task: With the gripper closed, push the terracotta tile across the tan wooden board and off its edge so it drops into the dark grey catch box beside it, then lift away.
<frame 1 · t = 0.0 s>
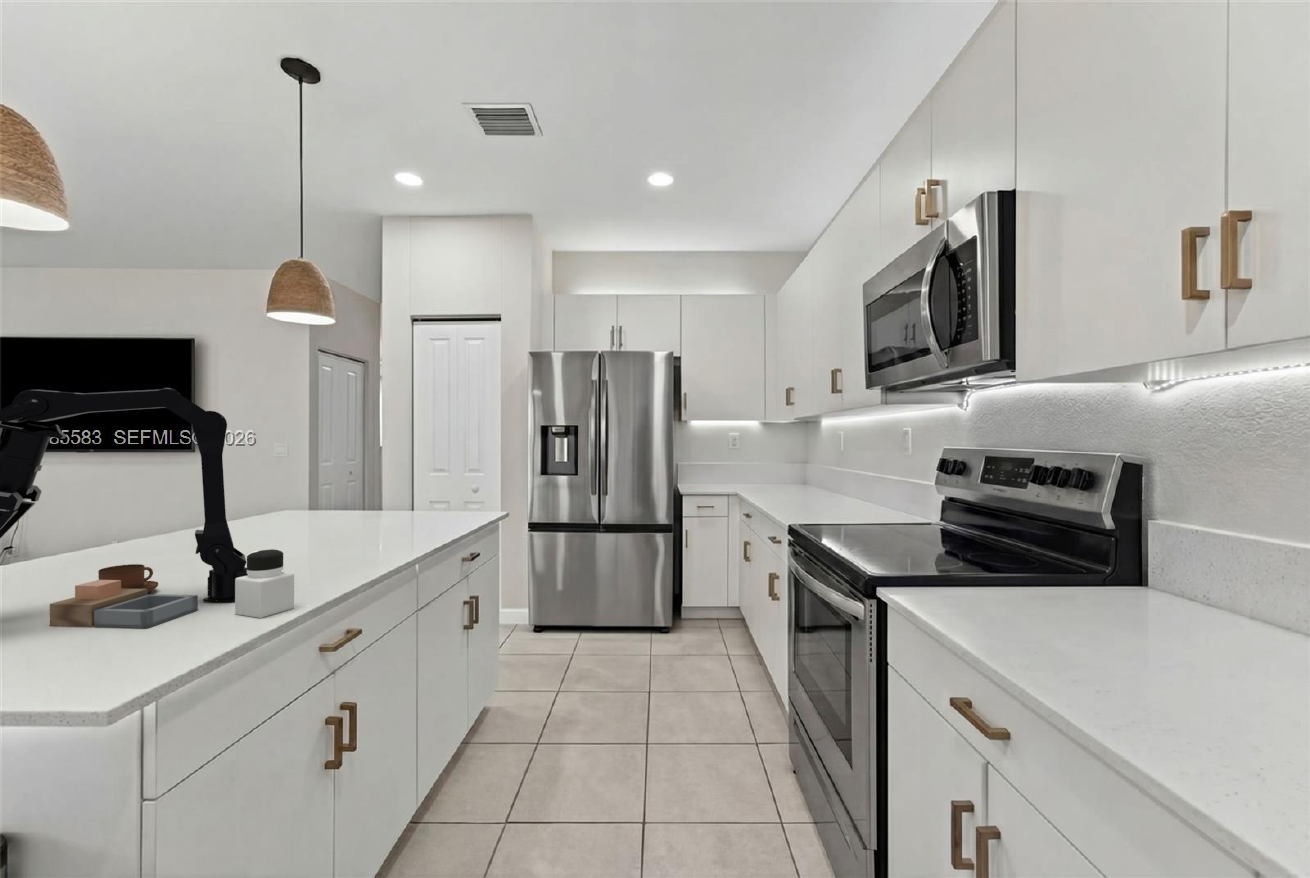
tile: (98, 596, 111), point 4 cm above the worktop, touching tan wooden board
medicine bottle: (265, 612, 116), on the worktop
cup and saucer: (121, 597, 126), on the worktop
tan wooden board: (100, 617, 111), on the worktop
catch box: (148, 618, 111), on the worktop
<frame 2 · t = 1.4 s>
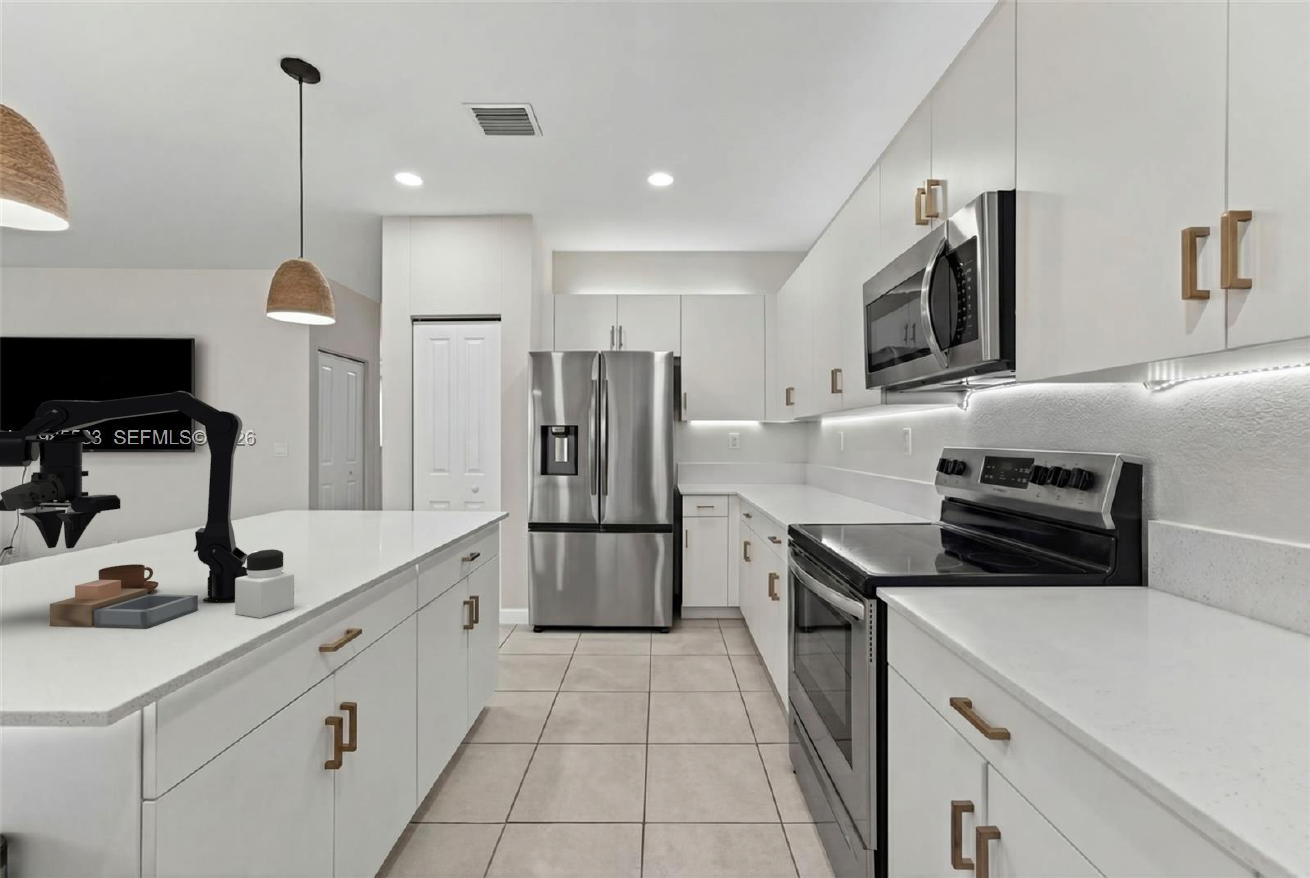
hand: (61, 548, 112), 13 cm above the worktop, tool pointing down, fingers open, 3 cm apart
nothing on the worktop moved.
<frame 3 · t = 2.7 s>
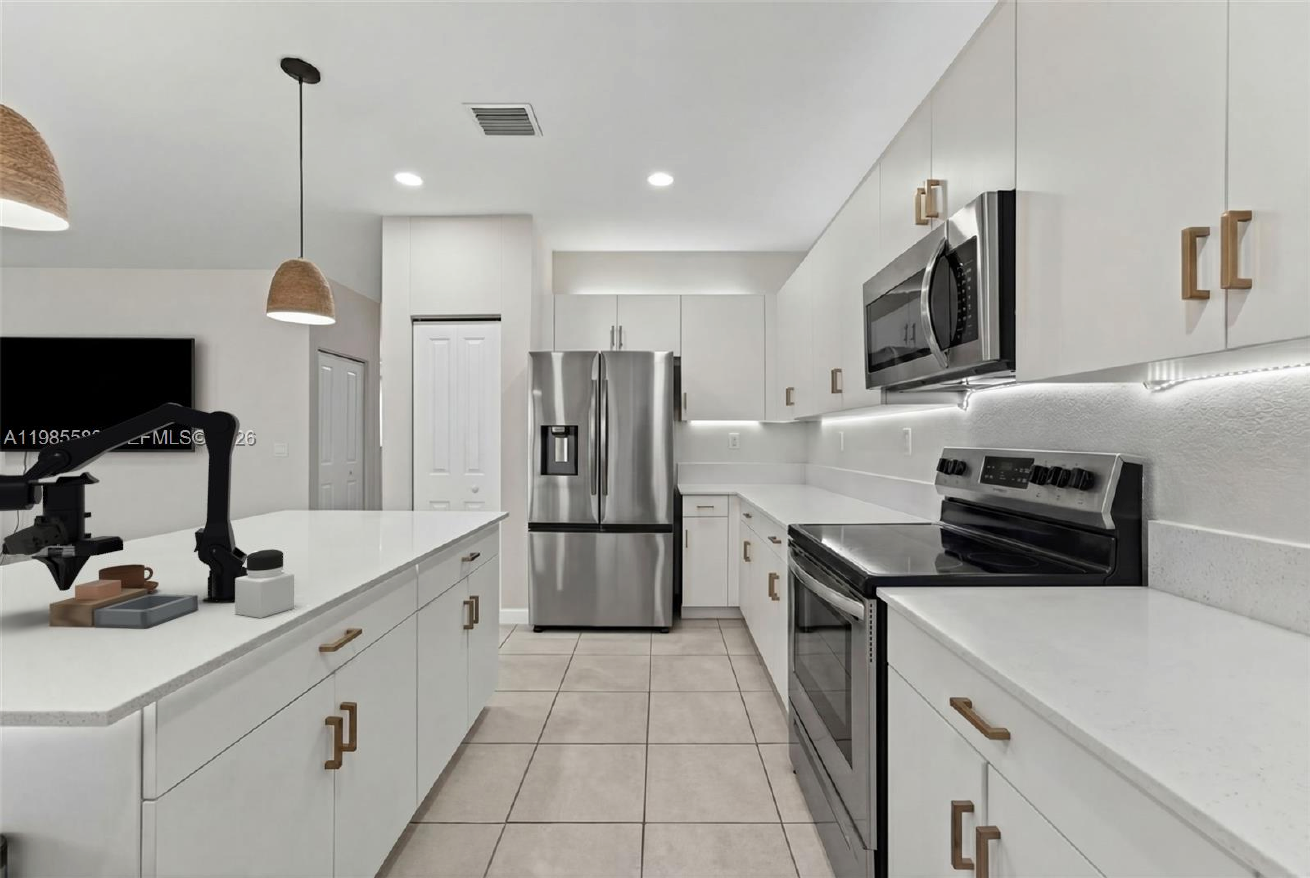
hand: (64, 590, 112), 5 cm above the worktop, tool pointing down, fingers closed
nothing on the worktop moved.
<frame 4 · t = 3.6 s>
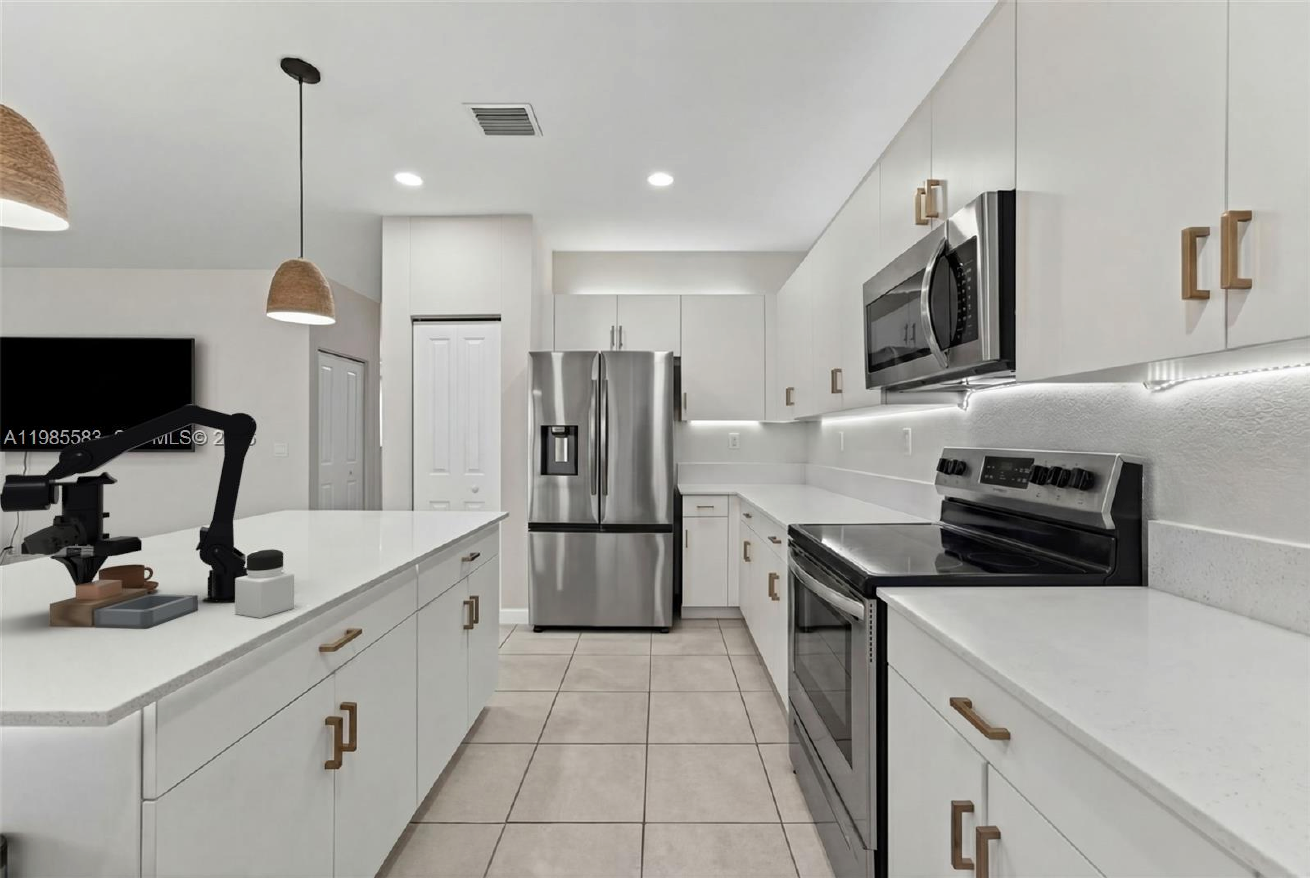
hand: (82, 590, 112), 5 cm above the worktop, tool pointing down, fingers closed
tile: (99, 596, 111), point 4 cm above the worktop, touching gripper
everything else where it was.
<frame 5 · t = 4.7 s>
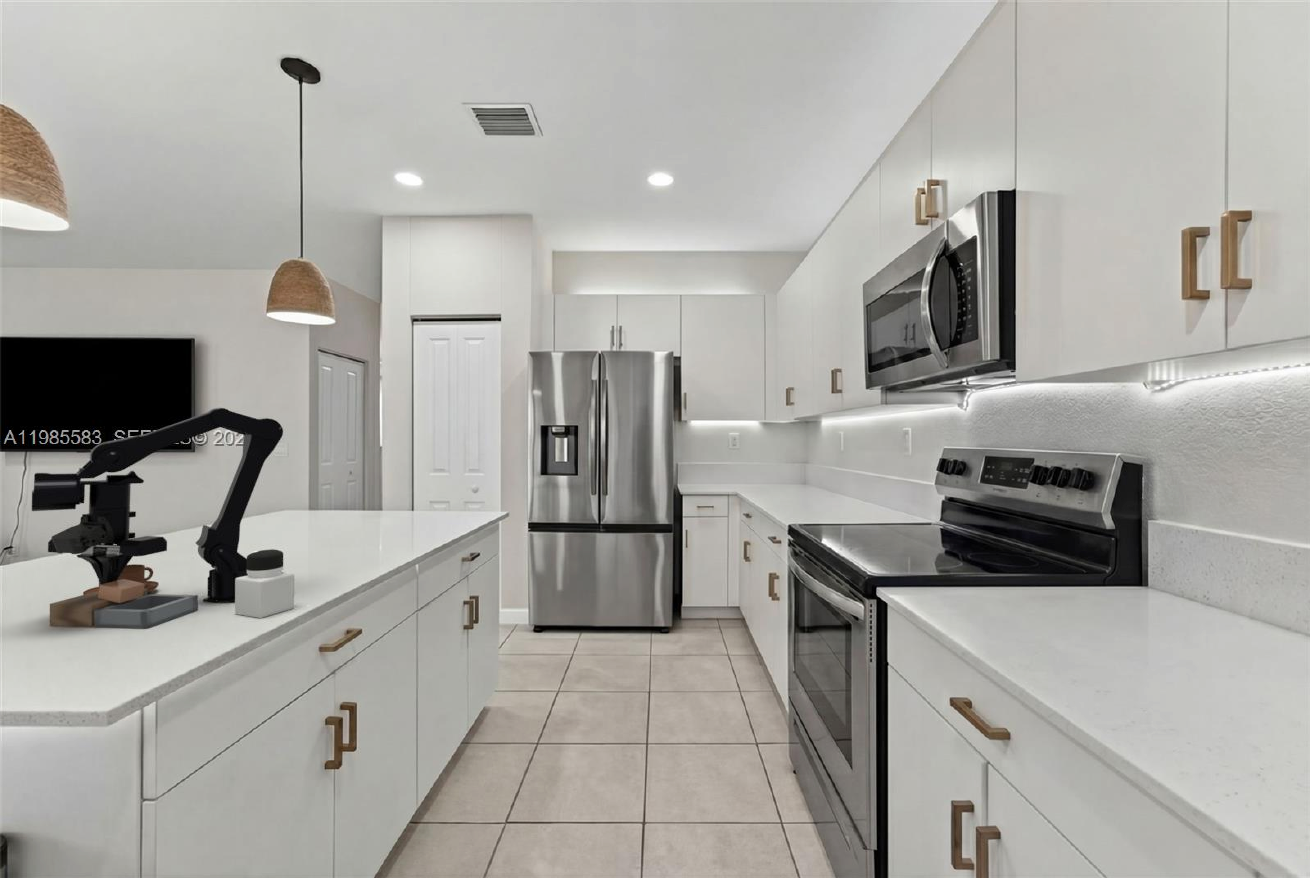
hand: (107, 589, 111), 5 cm above the worktop, tool pointing down, fingers closed
tile: (120, 597, 111), point 4 cm above the worktop, tilted 10°, touching gripper, tan wooden board
everything else where it was.
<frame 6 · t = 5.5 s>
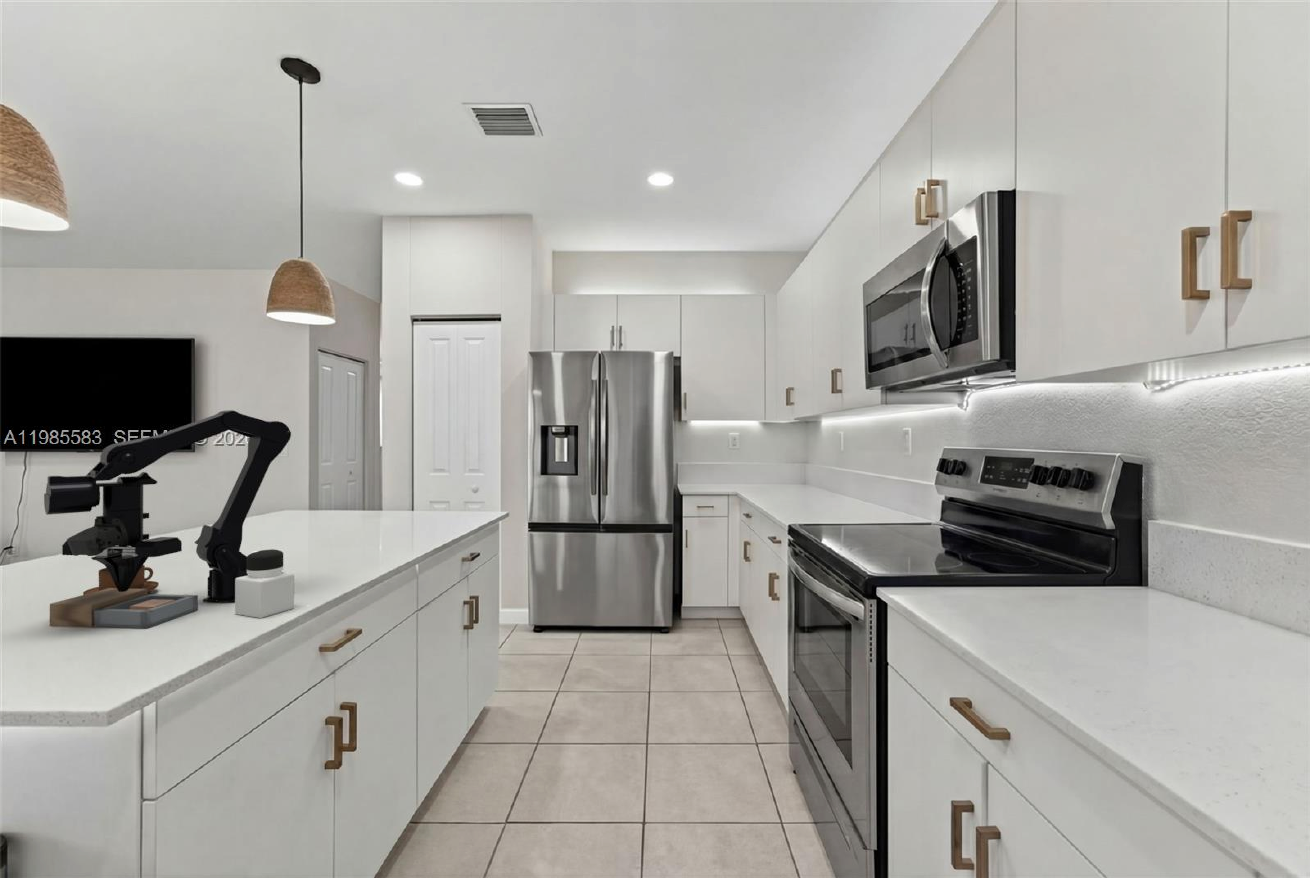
hand: (123, 591, 111), 5 cm above the worktop, tool pointing down, fingers closed
tile: (152, 603, 110), point 3 cm above the worktop, tilted 180°, touching catch box
everything else where it was.
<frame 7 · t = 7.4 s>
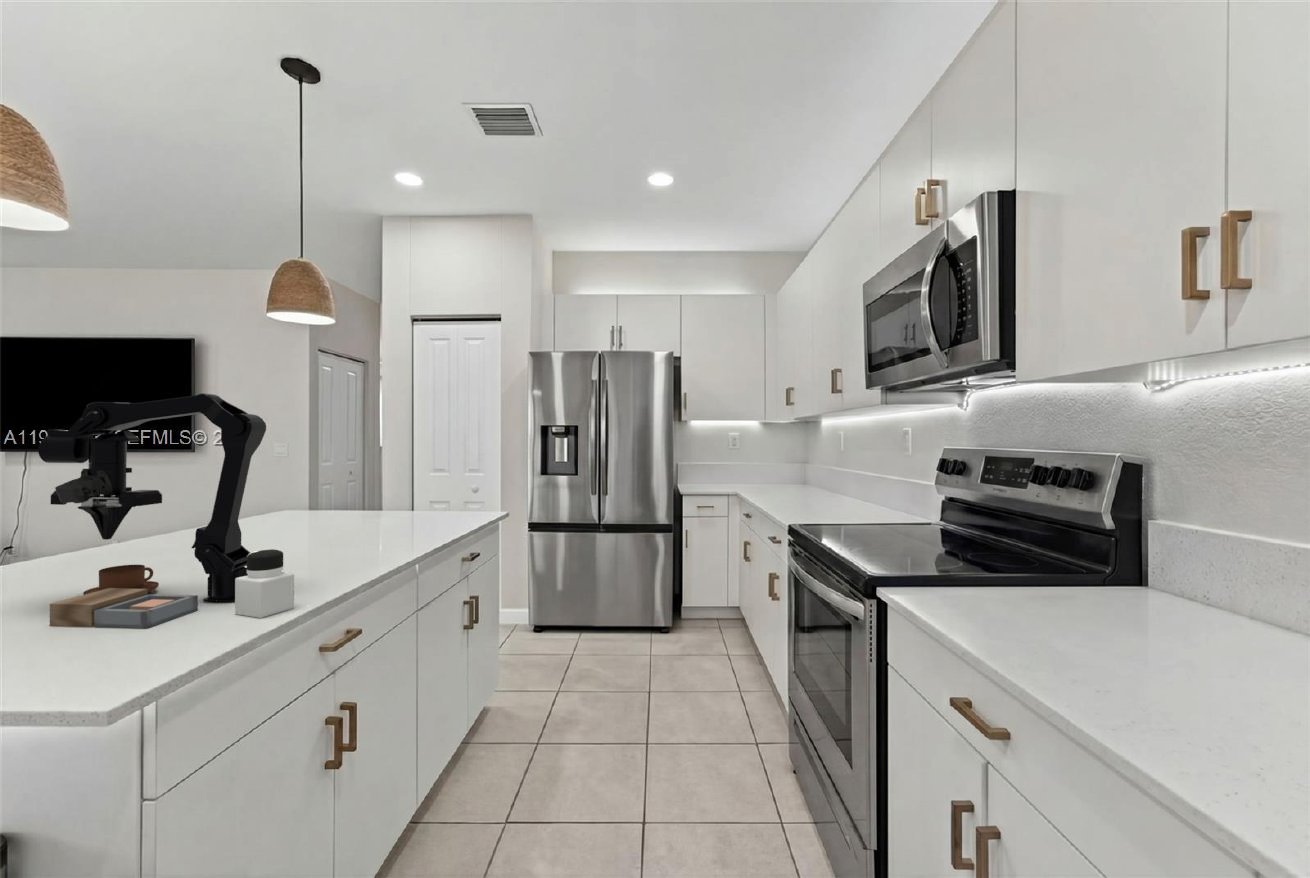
hand: (107, 539, 120), 13 cm above the worktop, tool pointing down, fingers closed
nothing on the worktop moved.
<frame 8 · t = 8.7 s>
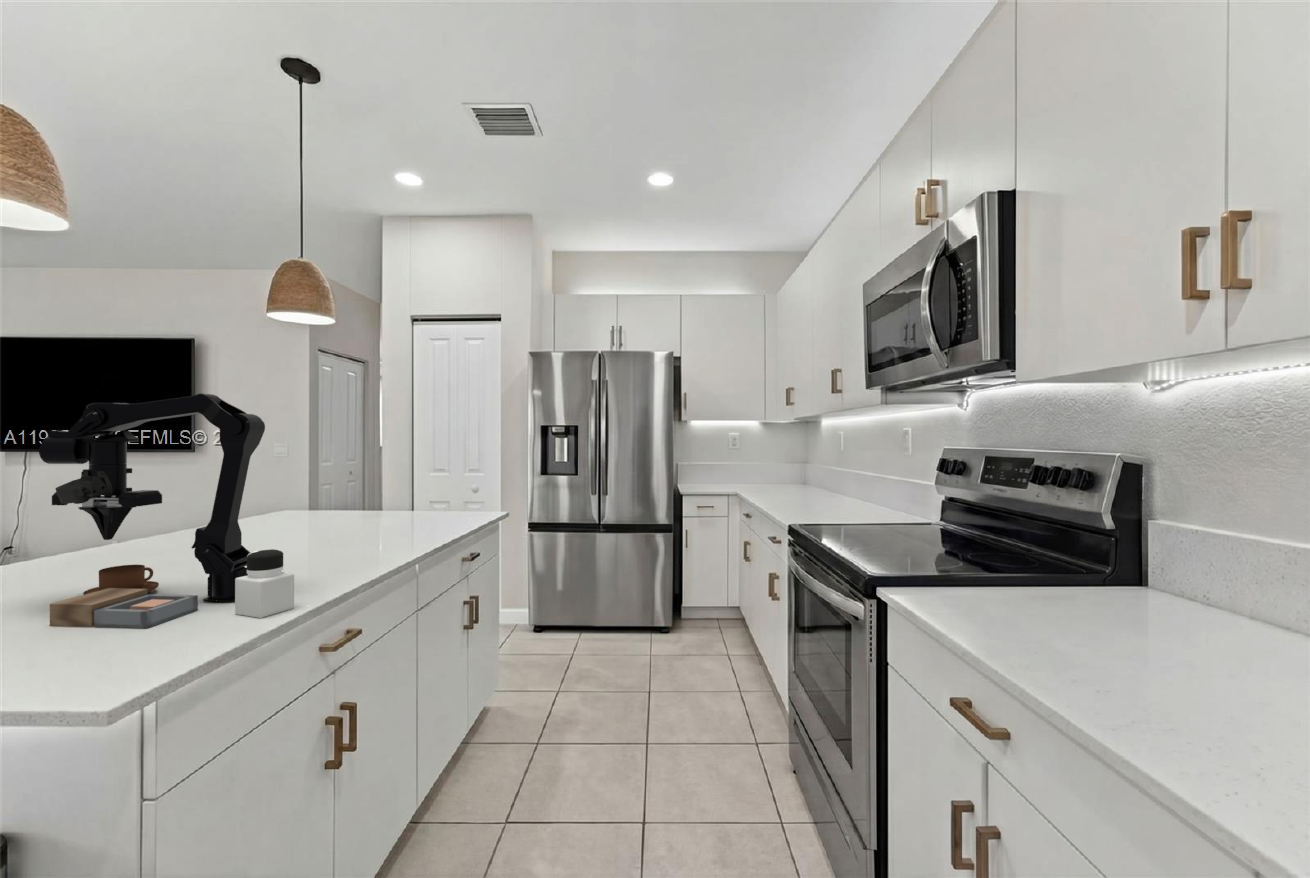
hand: (107, 539, 121), 13 cm above the worktop, tool pointing down, fingers closed
nothing on the worktop moved.
at the end: tile inside the target area on the catch box (1.4 cm from its centre), point 3.1 cm above the catch box's base; tile point 3.1 cm above the worktop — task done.
